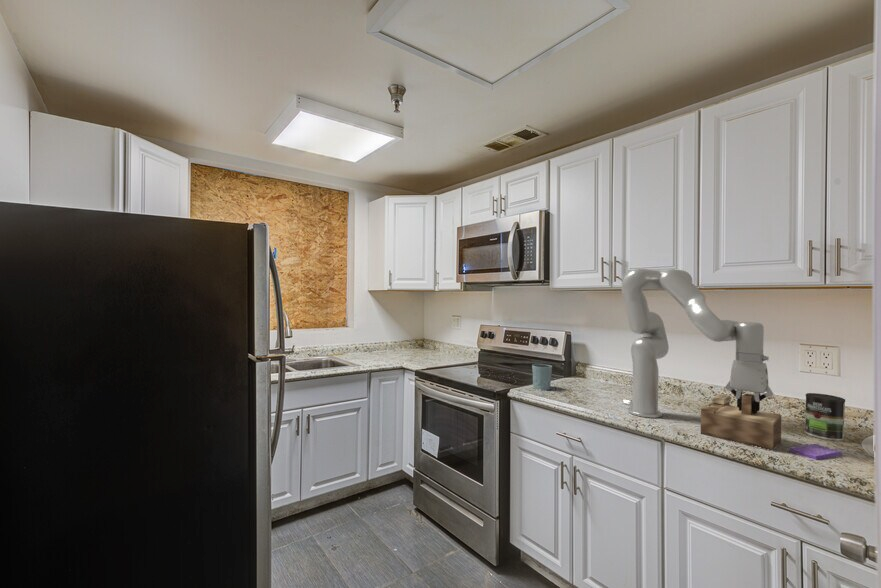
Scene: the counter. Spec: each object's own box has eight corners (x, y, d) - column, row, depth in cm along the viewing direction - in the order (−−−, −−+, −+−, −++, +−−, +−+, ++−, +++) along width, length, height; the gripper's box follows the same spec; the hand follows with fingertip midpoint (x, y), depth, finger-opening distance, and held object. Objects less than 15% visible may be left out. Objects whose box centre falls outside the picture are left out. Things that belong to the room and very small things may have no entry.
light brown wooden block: (712, 402, 150) (712, 397, 150) (718, 399, 156) (719, 394, 156) (723, 404, 148) (723, 399, 148) (729, 401, 153) (729, 396, 153)
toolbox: (700, 433, 143) (701, 408, 143) (716, 423, 156) (717, 399, 156) (772, 450, 128) (773, 422, 128) (783, 437, 141) (784, 411, 141)
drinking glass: (530, 389, 206) (531, 366, 206) (532, 385, 216) (532, 363, 216) (551, 391, 203) (551, 367, 203) (552, 387, 213) (552, 364, 213)
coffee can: (835, 442, 137) (836, 401, 137) (798, 433, 146) (799, 394, 147) (850, 439, 141) (851, 398, 141) (813, 429, 151) (814, 392, 151)
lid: (704, 411, 142) (704, 392, 142) (715, 405, 152) (716, 386, 152) (773, 425, 128) (773, 403, 128) (781, 417, 137) (781, 397, 137)
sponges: (842, 457, 125) (842, 451, 125) (815, 461, 122) (815, 455, 122) (815, 449, 132) (815, 443, 132) (789, 452, 128) (789, 447, 128)
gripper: (782, 360, 135) (781, 415, 135) (723, 354, 147) (722, 404, 147) (777, 362, 130) (776, 419, 130) (717, 355, 142) (716, 407, 142)
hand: (748, 410), depth 139 cm, fingers open, 3 cm apart
